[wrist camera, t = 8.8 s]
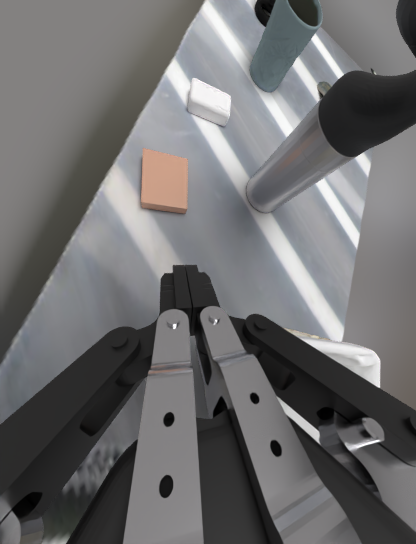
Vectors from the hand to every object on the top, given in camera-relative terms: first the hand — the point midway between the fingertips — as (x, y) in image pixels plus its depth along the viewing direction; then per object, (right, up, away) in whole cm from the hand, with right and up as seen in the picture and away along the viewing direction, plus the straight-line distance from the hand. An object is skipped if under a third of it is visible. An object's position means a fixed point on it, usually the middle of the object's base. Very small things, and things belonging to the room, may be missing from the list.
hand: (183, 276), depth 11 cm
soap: (+1, +37, +26) cm, 45 cm away
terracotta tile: (-6, +12, +19) cm, 24 cm away
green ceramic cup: (+16, +51, +32) cm, 63 cm away
